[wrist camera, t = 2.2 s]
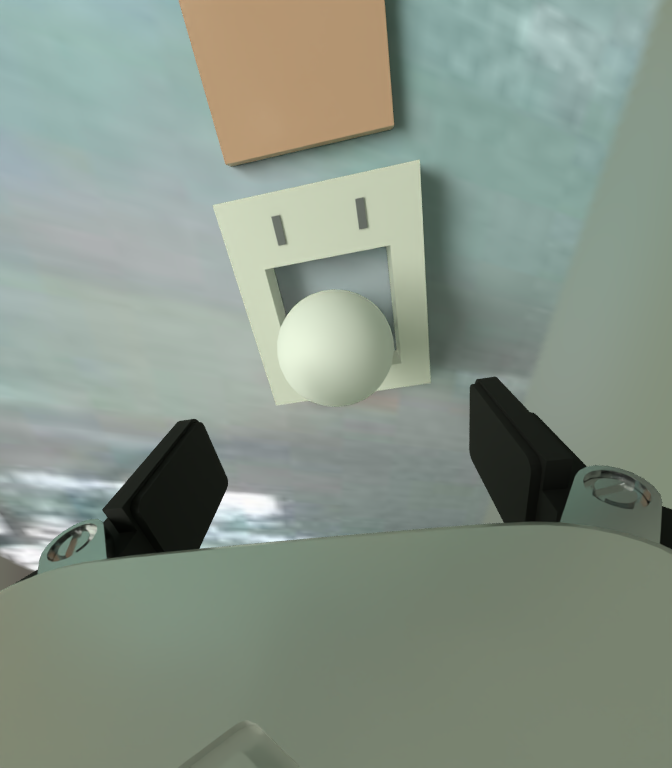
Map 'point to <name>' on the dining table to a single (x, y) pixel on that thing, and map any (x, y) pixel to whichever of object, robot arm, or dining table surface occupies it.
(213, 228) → the dining table surface
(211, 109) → the tile
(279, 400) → the slotted square frame
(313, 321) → the lightbulb
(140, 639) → the robot arm
